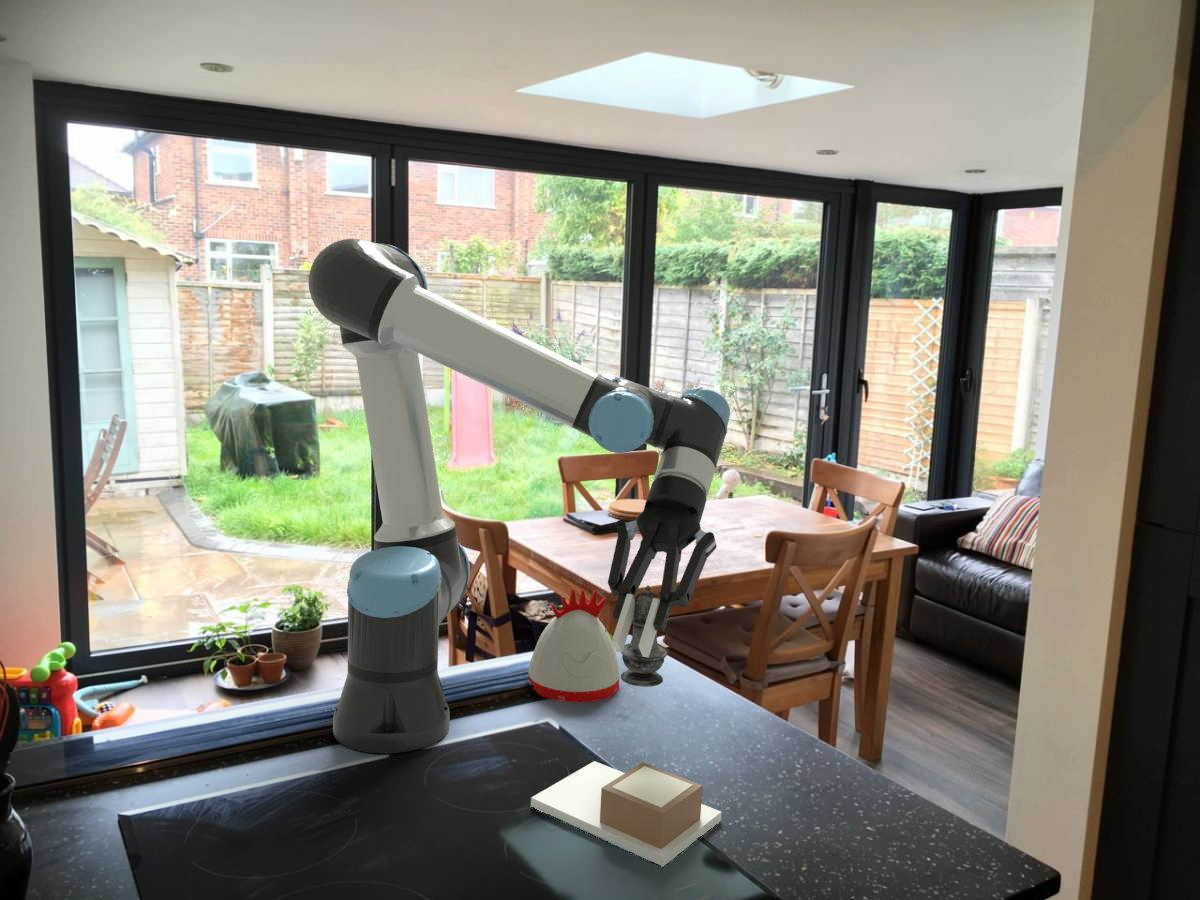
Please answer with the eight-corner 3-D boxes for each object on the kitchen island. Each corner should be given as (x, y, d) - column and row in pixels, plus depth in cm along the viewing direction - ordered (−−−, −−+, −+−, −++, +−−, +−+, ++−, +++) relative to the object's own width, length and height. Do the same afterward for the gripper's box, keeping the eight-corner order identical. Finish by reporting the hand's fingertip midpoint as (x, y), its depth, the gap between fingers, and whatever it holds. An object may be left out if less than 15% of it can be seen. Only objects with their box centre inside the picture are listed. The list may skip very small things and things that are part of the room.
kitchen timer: (627, 701, 140) (632, 603, 138) (534, 704, 137) (538, 603, 135) (608, 666, 153) (613, 576, 151) (523, 668, 151) (527, 576, 148)
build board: (530, 807, 109) (532, 763, 108) (593, 770, 118) (596, 729, 117) (663, 867, 98) (666, 820, 97) (720, 821, 108) (724, 777, 107)
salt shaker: (662, 690, 115) (668, 594, 114) (614, 684, 116) (620, 589, 115) (668, 673, 121) (674, 581, 119) (622, 667, 122) (628, 576, 120)
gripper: (741, 513, 126) (698, 675, 113) (629, 499, 131) (576, 651, 118) (734, 479, 120) (689, 646, 107) (618, 466, 126) (561, 623, 113)
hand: (630, 649), depth 113 cm, fingers closed on salt shaker, 3 cm apart
